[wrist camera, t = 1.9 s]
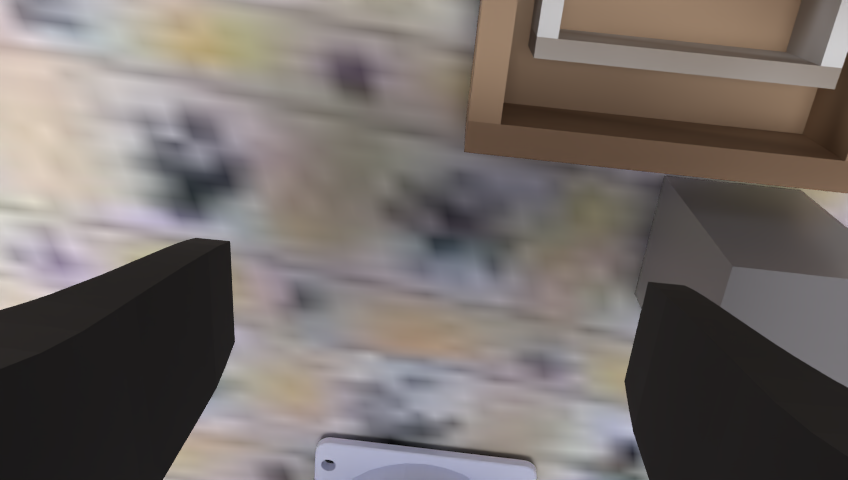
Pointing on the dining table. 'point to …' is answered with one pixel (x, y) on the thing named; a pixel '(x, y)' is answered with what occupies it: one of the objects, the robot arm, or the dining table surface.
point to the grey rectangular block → (757, 263)
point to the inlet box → (667, 87)
